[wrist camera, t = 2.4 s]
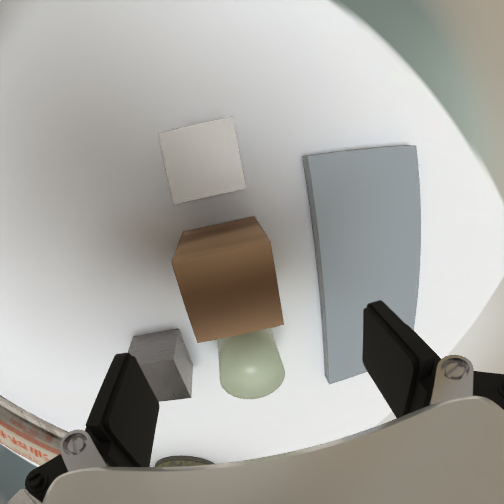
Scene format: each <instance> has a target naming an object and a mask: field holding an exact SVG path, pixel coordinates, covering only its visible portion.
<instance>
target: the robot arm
mask: <svg viewBox="0 0 504 504" xmlns="http://www.w3.org/2000/svg"><path fill="white" fill-rule="evenodd" d="M362 360H363V364H364V367H365V368H366V370H367V371H368V373H369V374H370V376H371V378H372V379H373V381H374V382H375V384H376V386H377V387H378V389H379V390H380V392H381V393H382V395H383V397H384V398H385V400H386V402H387V403H388V405H389V406H390V408H391V410H392V411H393V413H394V414H395V416H396V418H397V419H394V420H392V421H389V422H387V423H384V424H382V425H379V426H376V427H373V428H370V429H368V430H365V431H362V432H359V433H356V434H353V435H350V436H347V437H344V438H341V439H338V440H334V441H331V442H327V443H324V444H320V445H317V446H313V447H309V448H305V449H301V450H297V451H292V452H288V453H283V454H278V455H273V456H268V457H263V458H257V459H251V460H244V461H237V462H229V463H221V464H211V465H200V466H184V467H149V466H150V459H151V453H152V446H153V440H154V434H155V429H156V423H157V417H158V412H159V402H158V400H157V398H156V396H155V394H154V392H153V391H152V389H151V387H150V385H149V383H148V381H147V379H146V377H145V375H144V373H143V372H142V370H141V368H140V366H139V364H138V362H137V359H136V358H135V356H131V354H130V353H122V354H116V355H115V356H114V359H113V361H112V363H111V365H110V368H109V370H108V372H107V374H106V377H105V379H104V381H103V384H102V386H101V388H100V391H99V393H98V396H97V398H96V400H95V403H94V405H93V408H92V410H91V413H90V415H89V418H88V420H87V423H86V426H87V427H86V429H85V431H83V430H74V431H71V432H69V433H68V434H66V435H65V436H64V437H63V438H62V440H61V442H60V446H59V449H60V453H61V454H59V455H58V456H56V457H54V458H53V459H51V460H49V461H48V462H46V463H44V464H43V465H41V466H39V467H37V468H36V469H34V470H32V471H31V472H30V473H29V474H28V476H27V478H26V481H25V486H26V490H23V489H21V490H20V491H19V492H18V493H17V494H16V495H15V496H14V497H13V498H12V499H11V500H10V501H9V502H8V503H7V504H504V374H495V373H486V372H477V371H473V365H472V363H471V362H470V361H469V360H468V359H467V358H465V357H462V356H459V355H450V356H446V357H444V358H443V359H441V358H440V357H439V356H438V355H437V354H436V353H435V352H434V351H433V350H432V349H431V348H430V347H429V346H428V345H427V344H426V343H425V342H424V341H423V340H422V339H421V338H420V337H419V336H418V335H417V334H416V333H415V332H414V331H413V330H412V328H411V327H410V326H408V325H407V324H405V323H404V322H403V321H402V320H401V319H400V318H399V317H398V316H397V315H396V314H395V313H394V312H393V311H392V310H391V309H390V308H389V307H388V306H387V305H386V304H385V303H384V302H383V301H382V300H378V301H375V302H372V303H368V304H367V308H364V310H363V353H362Z"/></svg>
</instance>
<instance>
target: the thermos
mask: <svg viewBox="0 0 504 504" xmlns="http://www.w3.org/2000/svg"><path fill="white" fill-rule="evenodd" d="M211 464H214V463H212V462H210V461H207V460H205V459H201V458H196V457H189V456H171V457H167V458H163V459H161V460H159V461H158V462H157V463H156V465H155V467H184V466H200V465H211Z"/></svg>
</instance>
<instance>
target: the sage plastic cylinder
mask: <svg viewBox="0 0 504 504" xmlns="http://www.w3.org/2000/svg"><path fill="white" fill-rule="evenodd" d="M218 351H219V370H220V382H221V385H222V387H223V389H224V390H225V391H226V392H227V393H229V394H230V395H232V396H234V397H237V398H242V399H256V398H261V397H264V396H266V395H269V394H270V393H272V392H274V391H275V390H276V389H277V388H278V387H279V386H280V385H281V384H282V382H283V380H284V376H285V370H284V367H283V364H282V361H281V358H280V355H279V352H278V349H277V346H276V343H275V340H274V336H273V333H272V330H271V328H267V329H263V330H259V331H254V332H250V333H245V334H240V335H235V336H231V337H226V338H221V339H218Z"/></svg>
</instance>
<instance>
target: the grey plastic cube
mask: <svg viewBox="0 0 504 504" xmlns="http://www.w3.org/2000/svg"><path fill="white" fill-rule="evenodd" d="M158 135H159V141H160V145H161V150H162V155H163V160H164V164H165V169H166V174H167V178H168V182H169V187H170V191H171V195H172V200H173V204H174V205H175V204H179V203H184V202H188V201H192V200H197V199H201V198H205V197H210V196H214V195H219V194H224V193H228V192H233V191H238V190H243V189H246V184H245V179H244V174H243V169H242V164H241V158H240V153H239V148H238V143H237V138H236V133H235V128H234V122H233V117H228V118H222V119H217V120H212V121H208V122H203V123H198V124H194V125H190V126H185V127H181V128H177V129H173V130H169V131H165V132H162V133H158Z"/></svg>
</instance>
